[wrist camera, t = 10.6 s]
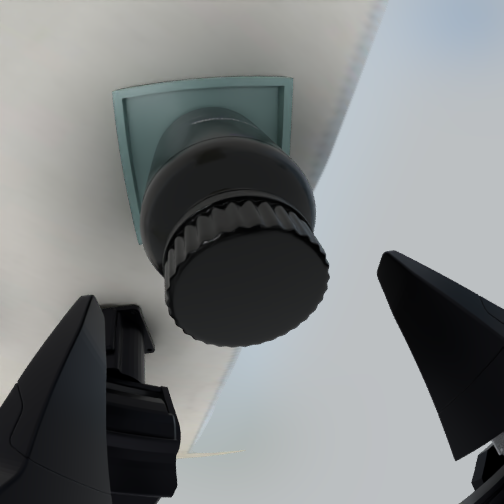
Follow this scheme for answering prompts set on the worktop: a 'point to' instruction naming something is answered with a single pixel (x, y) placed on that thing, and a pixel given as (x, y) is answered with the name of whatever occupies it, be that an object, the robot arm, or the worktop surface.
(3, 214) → the worktop surface
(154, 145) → the tray
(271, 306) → the supplement bottle
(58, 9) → the worktop surface
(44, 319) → the worktop surface
